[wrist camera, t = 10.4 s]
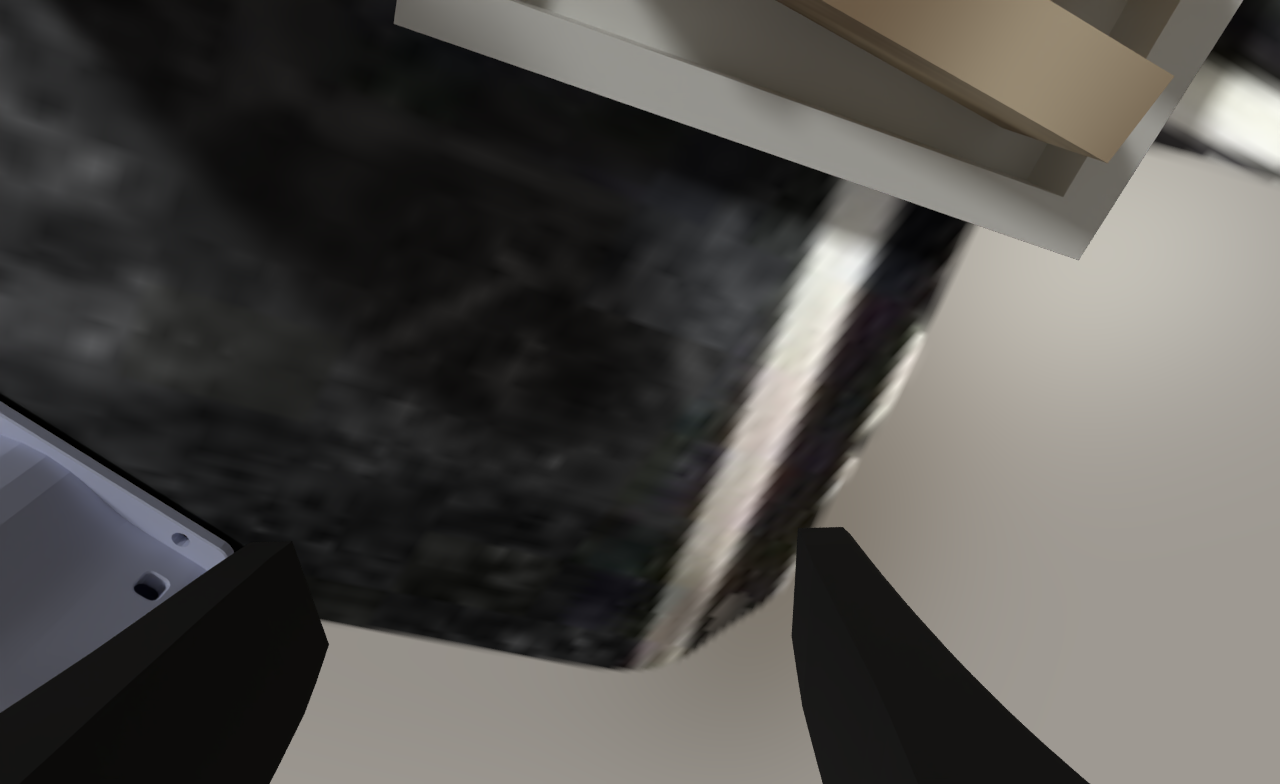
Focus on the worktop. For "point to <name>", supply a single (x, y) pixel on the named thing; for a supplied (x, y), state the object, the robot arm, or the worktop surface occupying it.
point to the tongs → (1008, 64)
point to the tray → (838, 96)
